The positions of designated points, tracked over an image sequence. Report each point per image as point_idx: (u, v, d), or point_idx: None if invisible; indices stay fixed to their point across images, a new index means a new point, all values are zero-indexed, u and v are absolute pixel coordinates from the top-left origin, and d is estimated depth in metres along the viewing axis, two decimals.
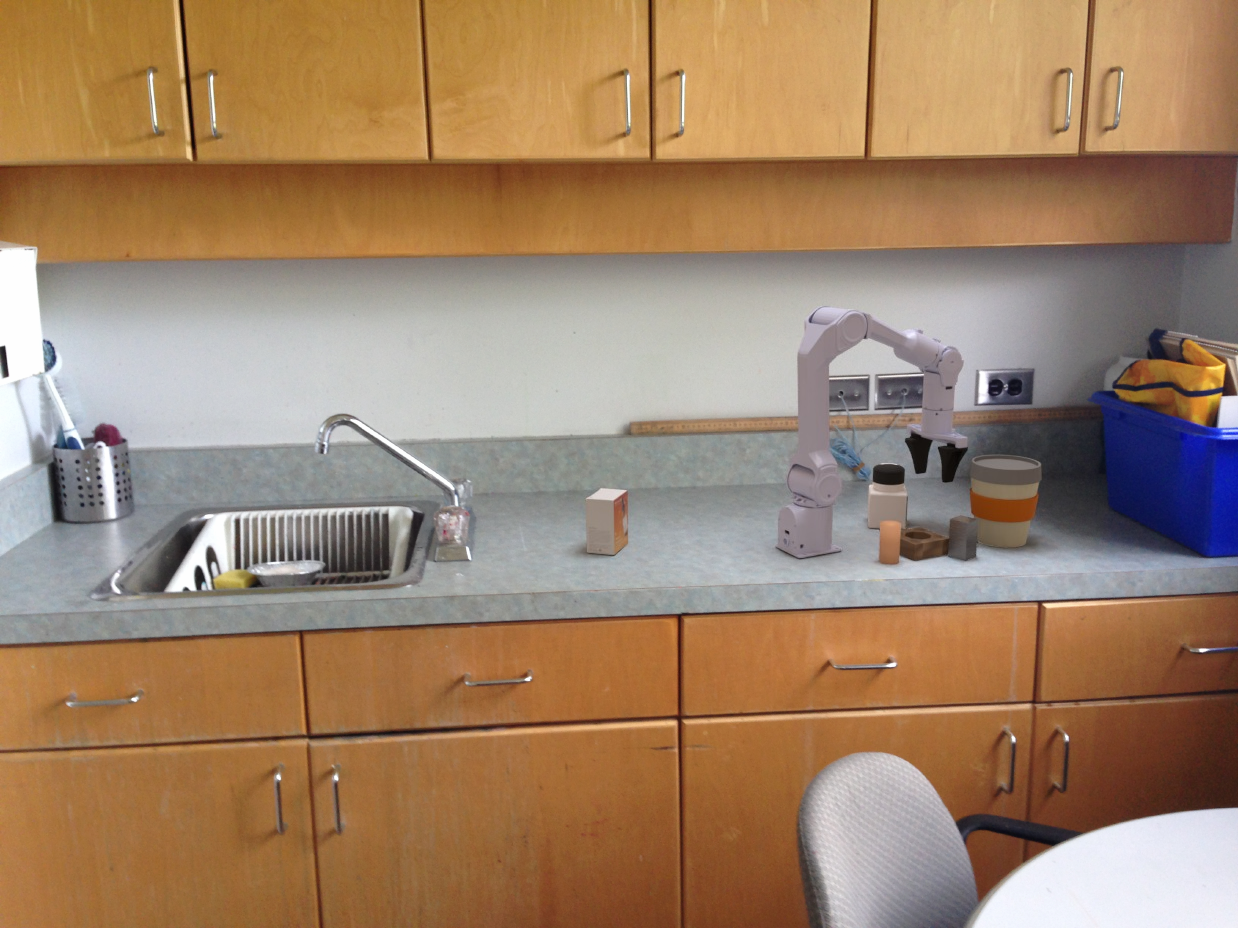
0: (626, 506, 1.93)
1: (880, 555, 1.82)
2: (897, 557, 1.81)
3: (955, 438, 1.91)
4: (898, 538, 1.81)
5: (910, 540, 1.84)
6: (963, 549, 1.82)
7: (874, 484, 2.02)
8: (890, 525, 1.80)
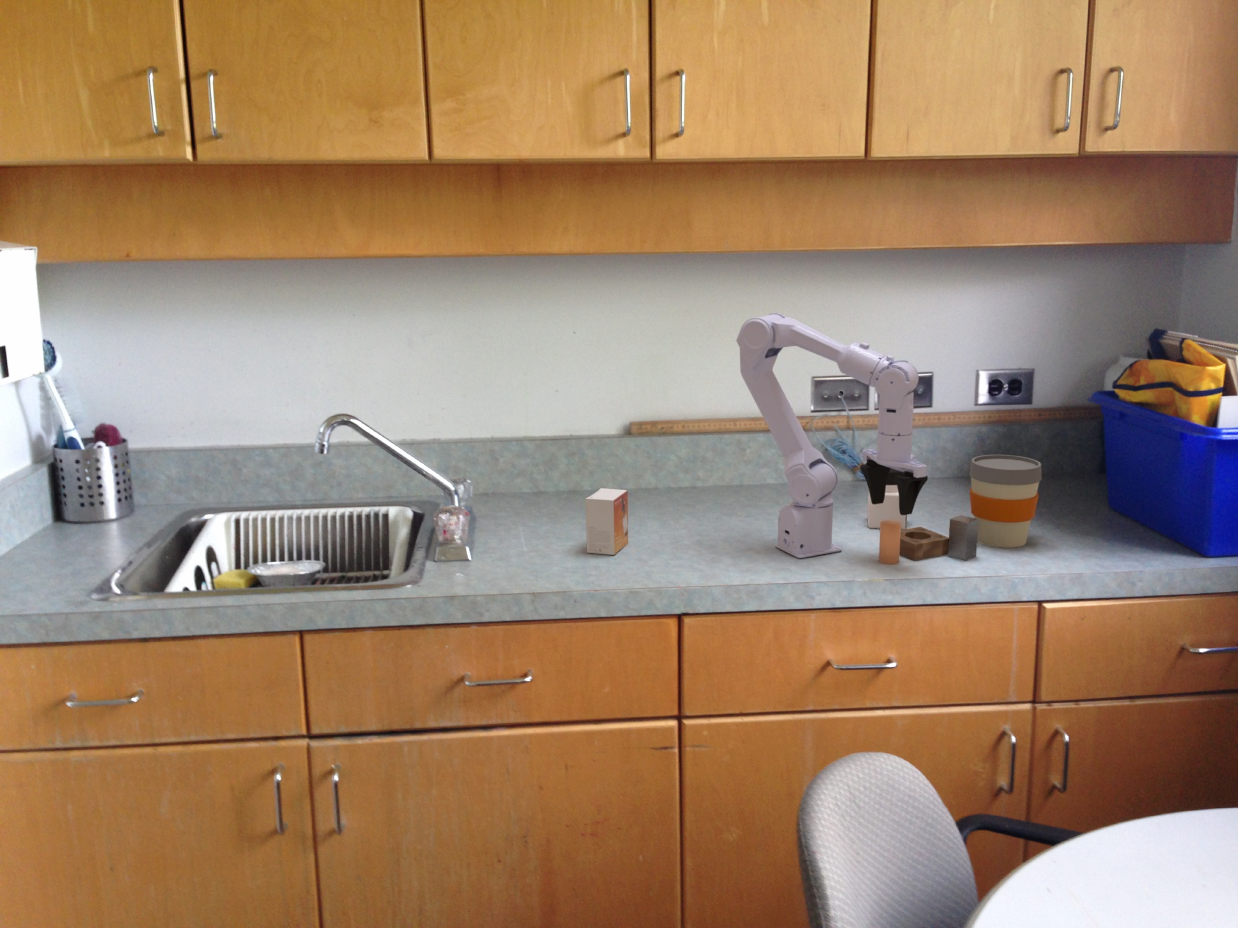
0: (626, 506, 1.93)
1: (880, 555, 1.82)
2: (897, 557, 1.81)
3: (913, 466, 1.73)
4: (898, 538, 1.81)
5: (910, 540, 1.84)
6: (964, 549, 1.82)
7: None
8: (890, 525, 1.80)
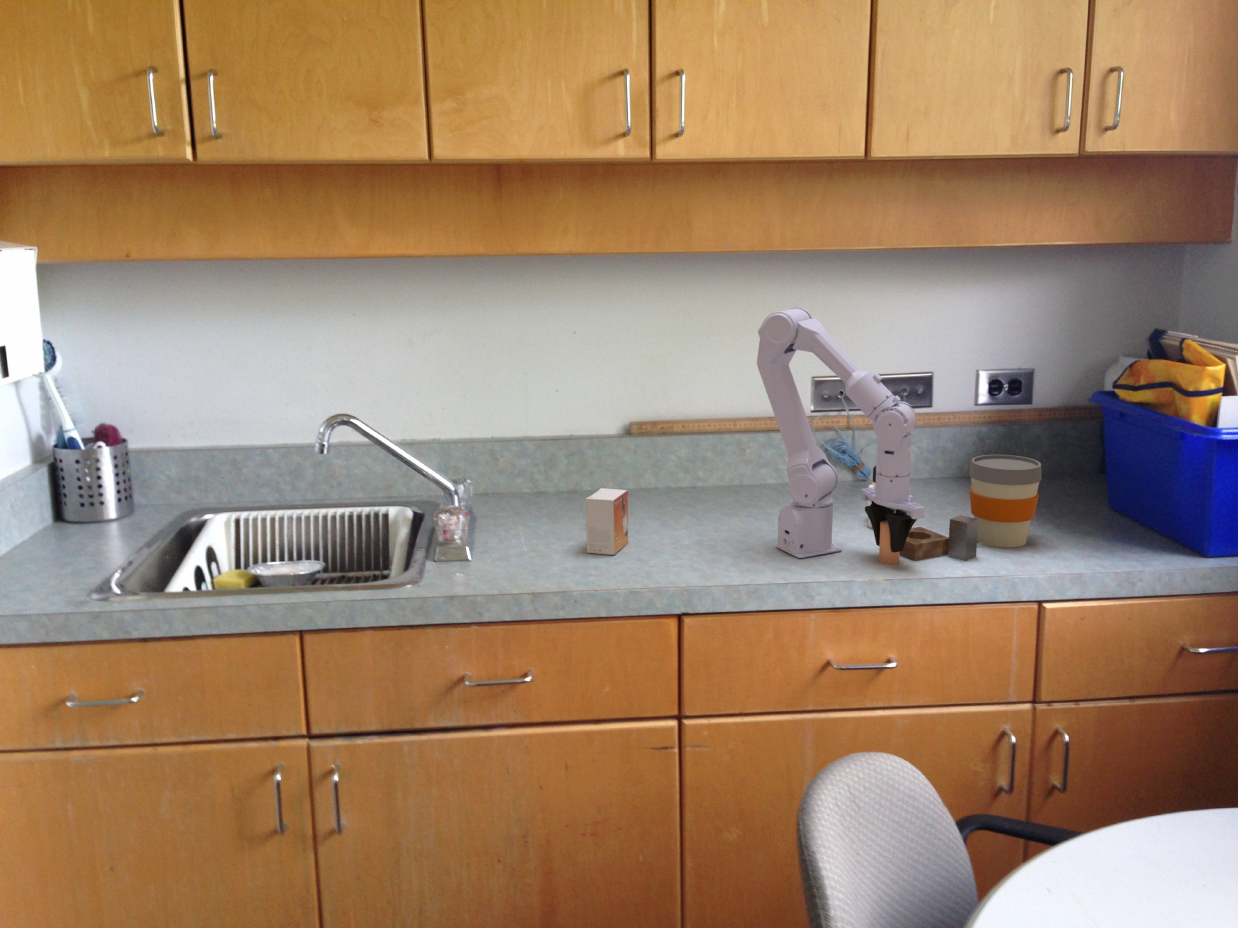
0: (626, 506, 1.93)
1: (880, 555, 1.82)
2: (897, 557, 1.81)
3: (911, 508, 1.74)
4: None
5: (910, 540, 1.84)
6: (963, 549, 1.82)
7: (874, 484, 2.02)
8: None
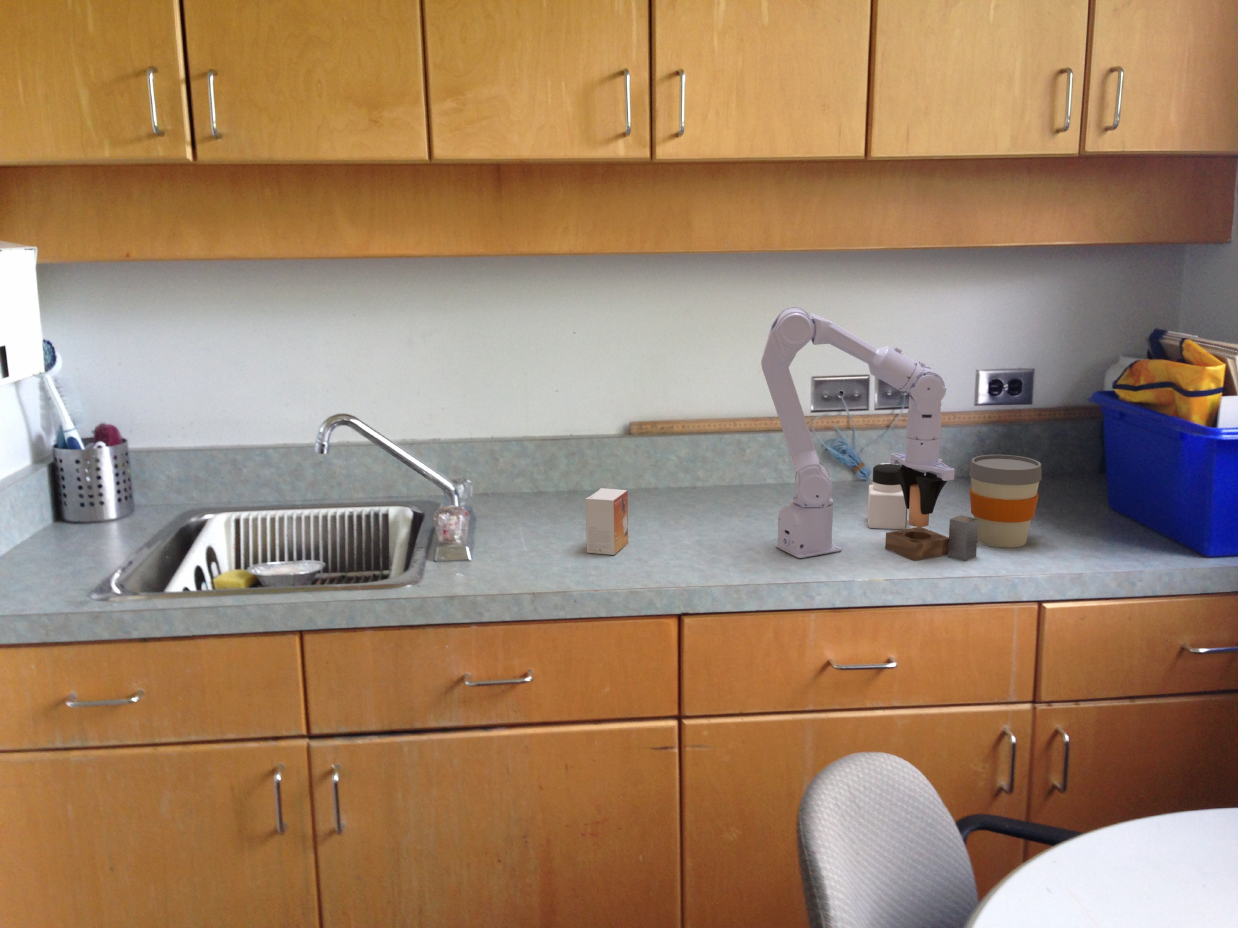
0: (626, 506, 1.93)
1: (910, 518, 1.86)
2: (927, 520, 1.85)
3: (941, 470, 1.78)
4: None
5: (910, 540, 1.84)
6: (963, 549, 1.82)
7: (874, 484, 2.02)
8: None
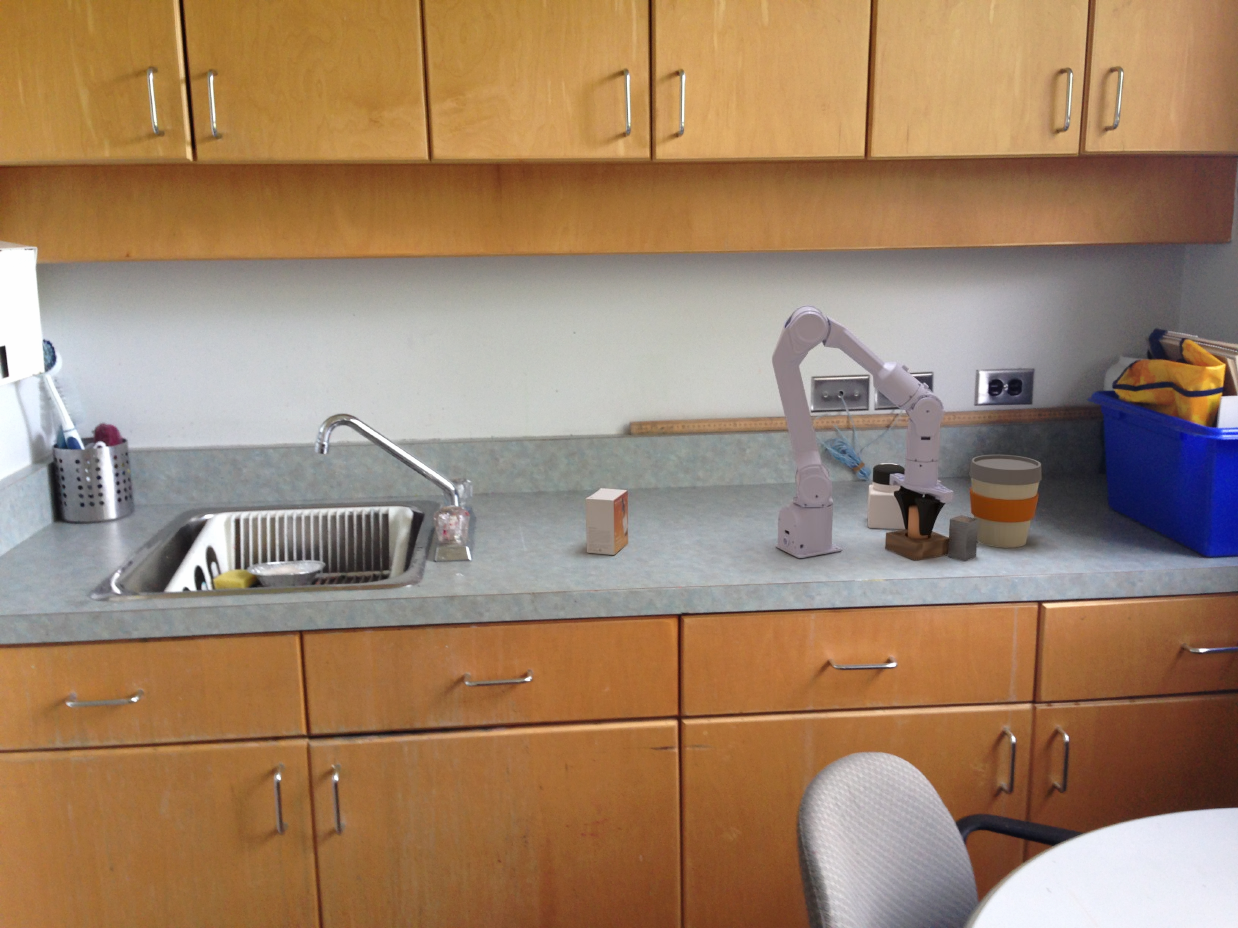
0: (626, 506, 1.93)
1: None
2: None
3: (940, 492, 1.79)
4: None
5: (910, 540, 1.84)
6: (963, 549, 1.82)
7: (874, 484, 2.02)
8: None
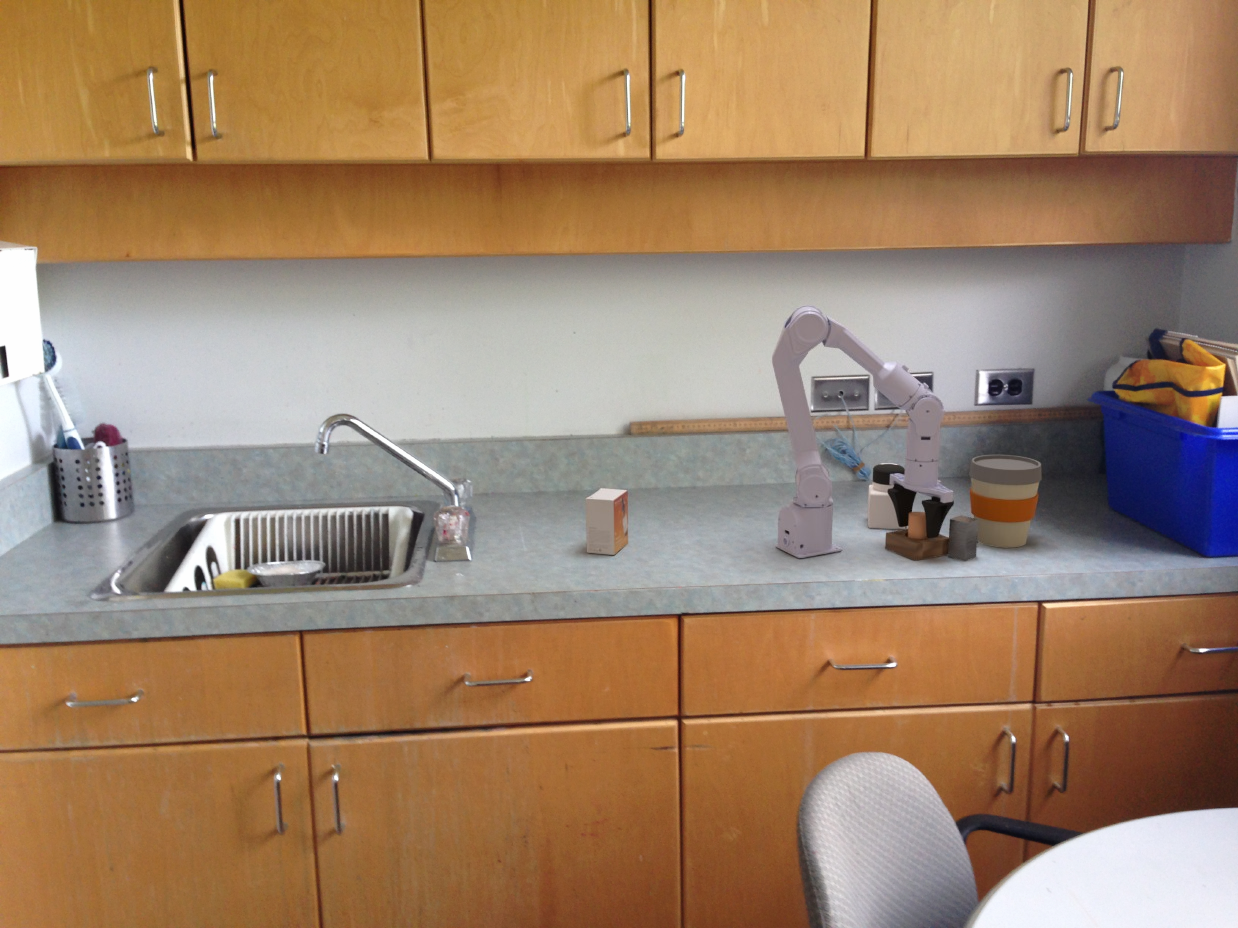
0: (626, 506, 1.93)
1: None
2: None
3: (940, 492, 1.79)
4: None
5: (910, 540, 1.84)
6: (963, 549, 1.82)
7: (874, 484, 2.02)
8: (919, 516, 1.85)
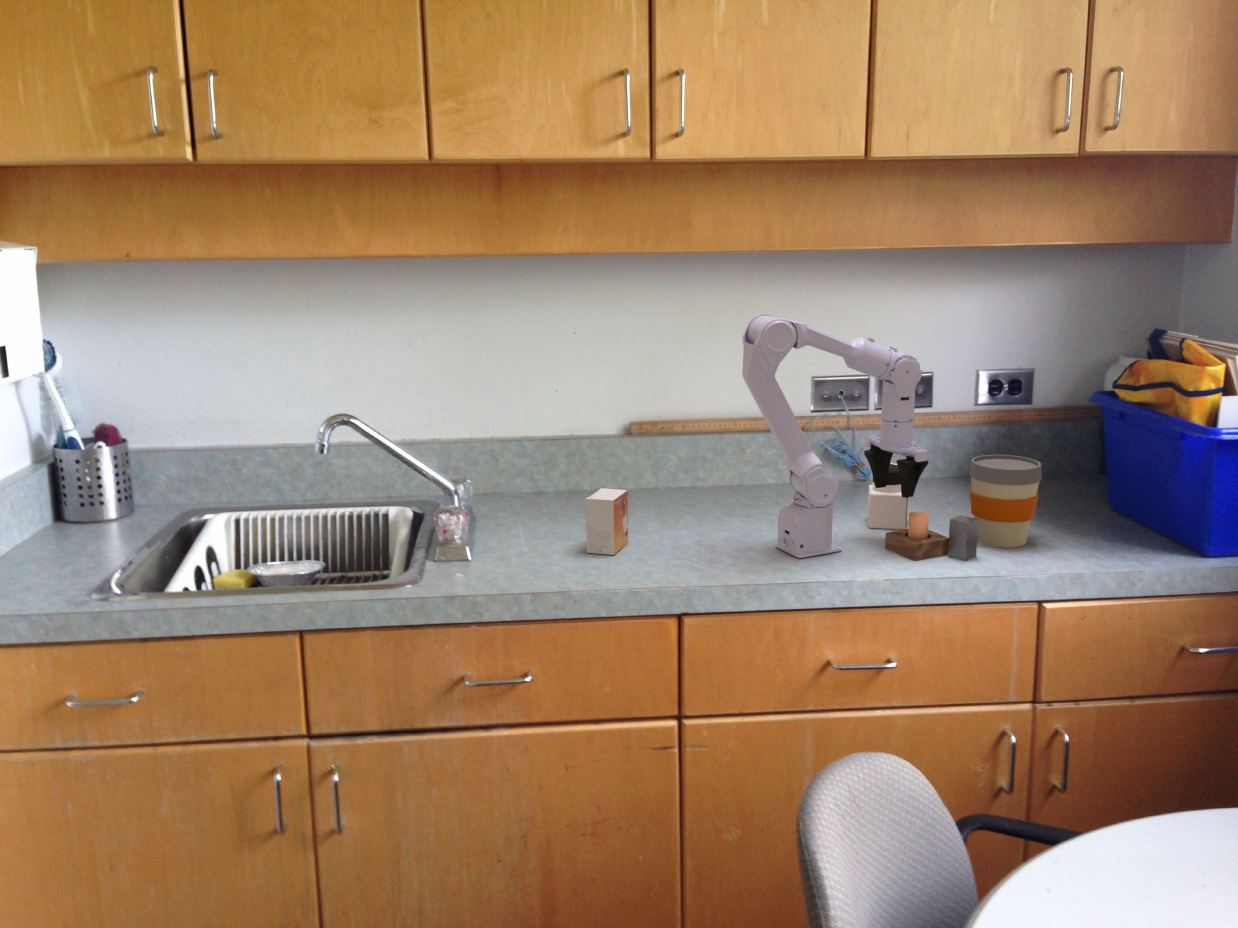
0: (626, 506, 1.93)
1: None
2: None
3: (914, 451, 1.82)
4: (926, 529, 1.86)
5: (910, 540, 1.84)
6: (963, 549, 1.82)
7: (874, 484, 2.02)
8: (919, 516, 1.85)
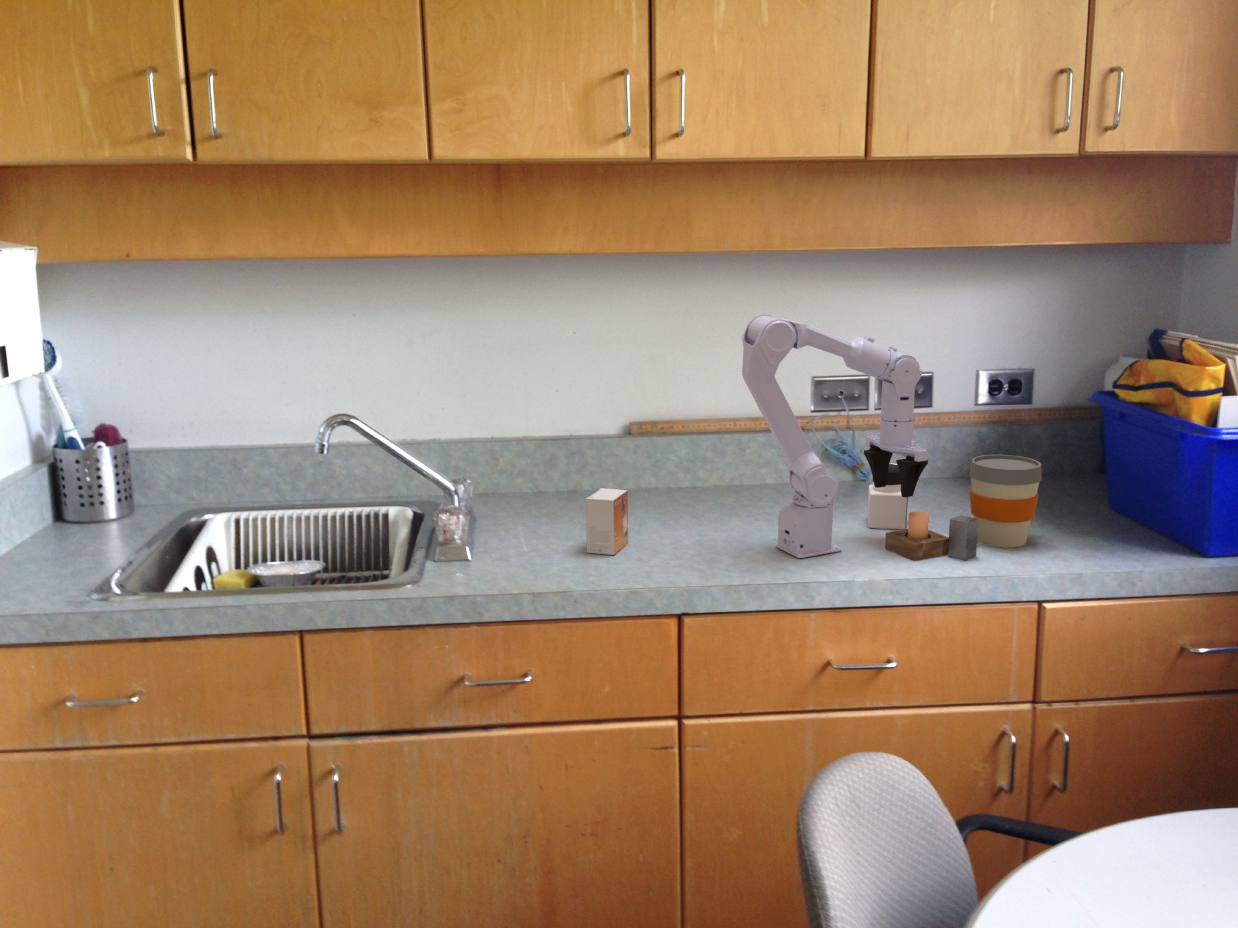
0: (626, 506, 1.93)
1: None
2: None
3: (914, 451, 1.82)
4: (926, 529, 1.86)
5: (910, 540, 1.84)
6: (963, 549, 1.82)
7: None
8: (919, 516, 1.85)
